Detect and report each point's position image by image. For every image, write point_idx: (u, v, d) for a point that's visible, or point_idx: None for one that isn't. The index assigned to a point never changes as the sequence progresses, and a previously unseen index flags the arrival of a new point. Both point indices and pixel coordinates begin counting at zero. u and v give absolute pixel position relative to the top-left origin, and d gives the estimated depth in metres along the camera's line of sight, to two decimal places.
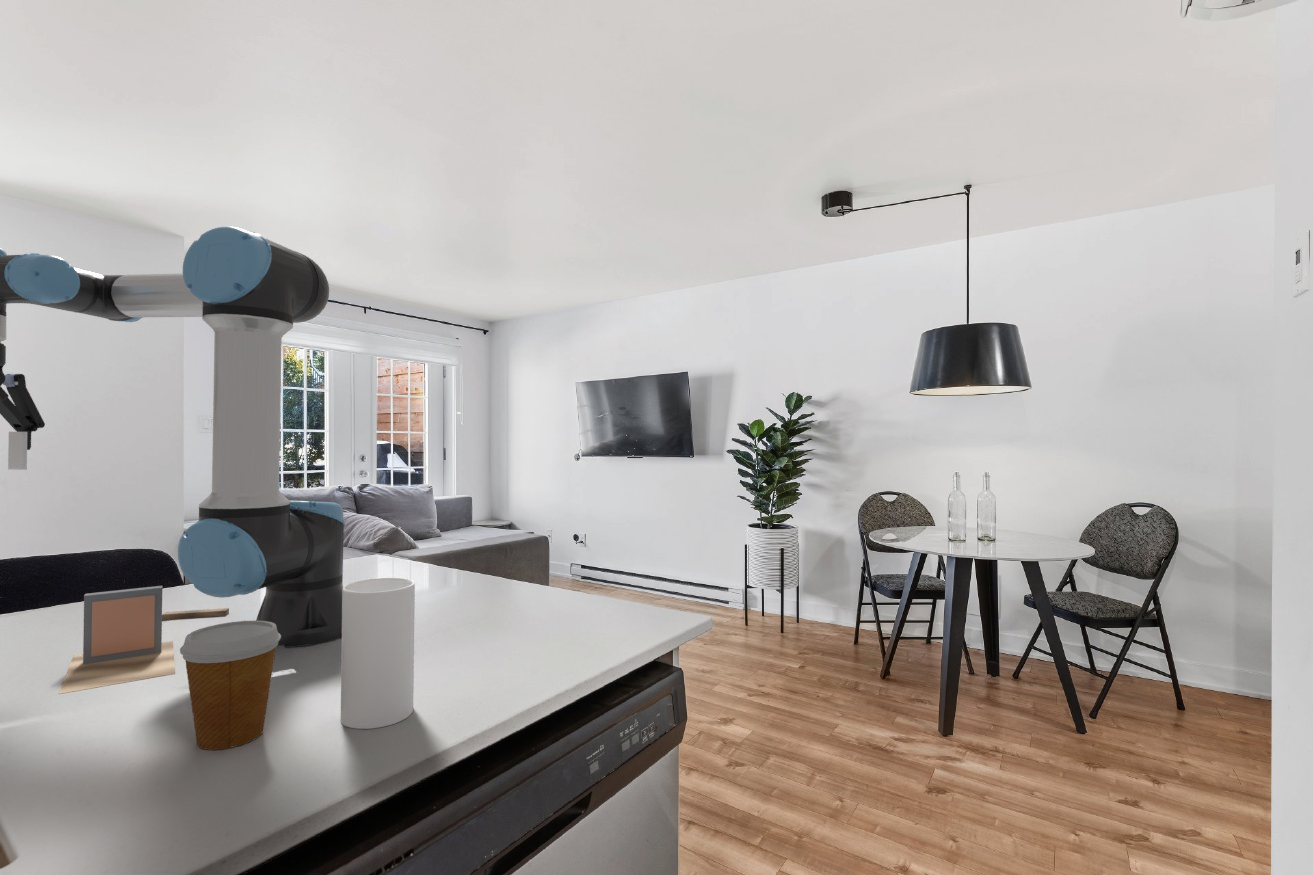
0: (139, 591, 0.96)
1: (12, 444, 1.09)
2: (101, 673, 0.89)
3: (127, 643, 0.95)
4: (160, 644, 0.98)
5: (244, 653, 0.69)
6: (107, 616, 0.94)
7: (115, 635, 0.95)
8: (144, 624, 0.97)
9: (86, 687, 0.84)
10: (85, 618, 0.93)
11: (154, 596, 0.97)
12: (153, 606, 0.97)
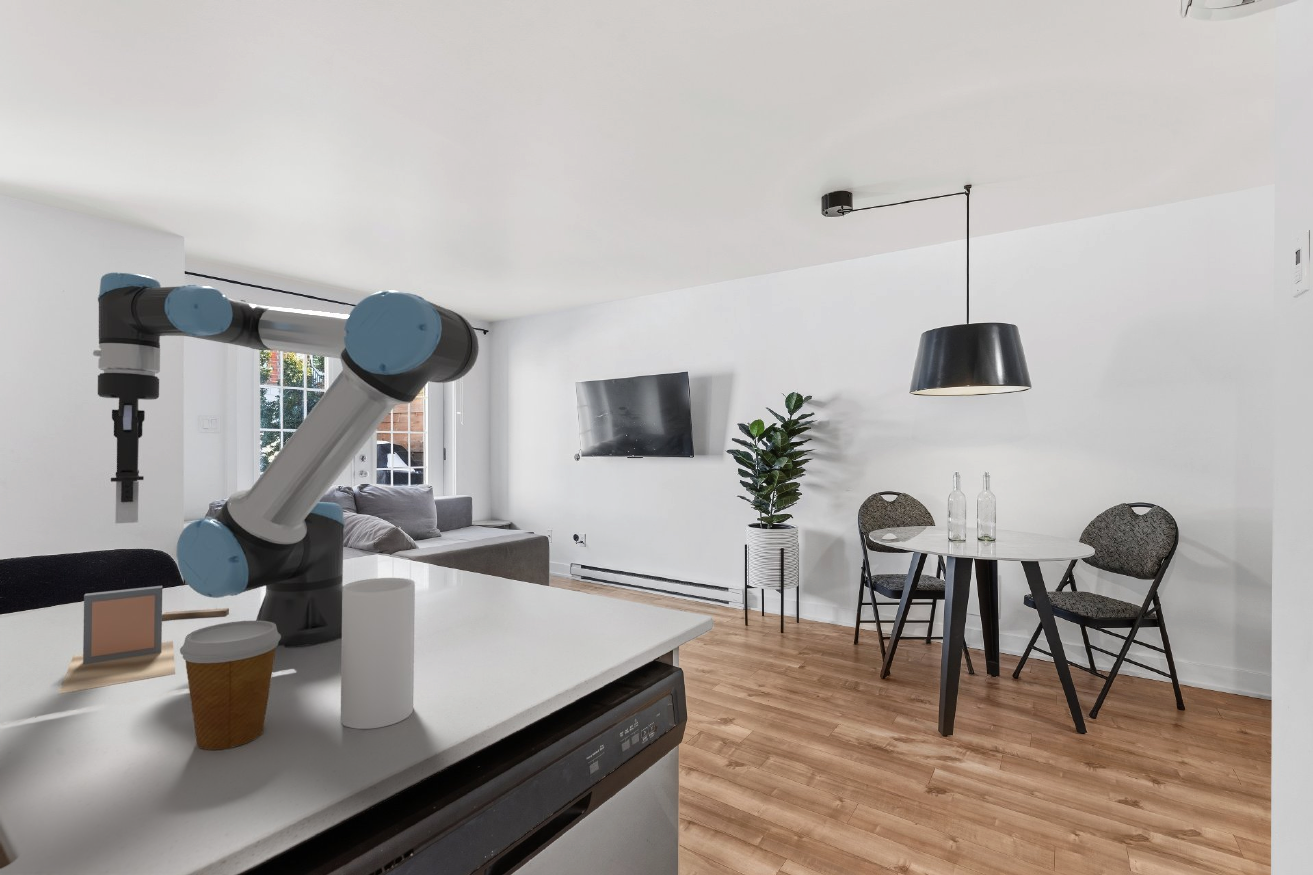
0: (139, 591, 0.96)
1: None
2: (101, 673, 0.89)
3: (127, 643, 0.95)
4: (160, 644, 0.98)
5: (244, 653, 0.69)
6: (107, 616, 0.94)
7: (115, 635, 0.95)
8: (144, 624, 0.97)
9: (86, 687, 0.84)
10: (85, 618, 0.93)
11: (154, 596, 0.97)
12: (153, 606, 0.97)
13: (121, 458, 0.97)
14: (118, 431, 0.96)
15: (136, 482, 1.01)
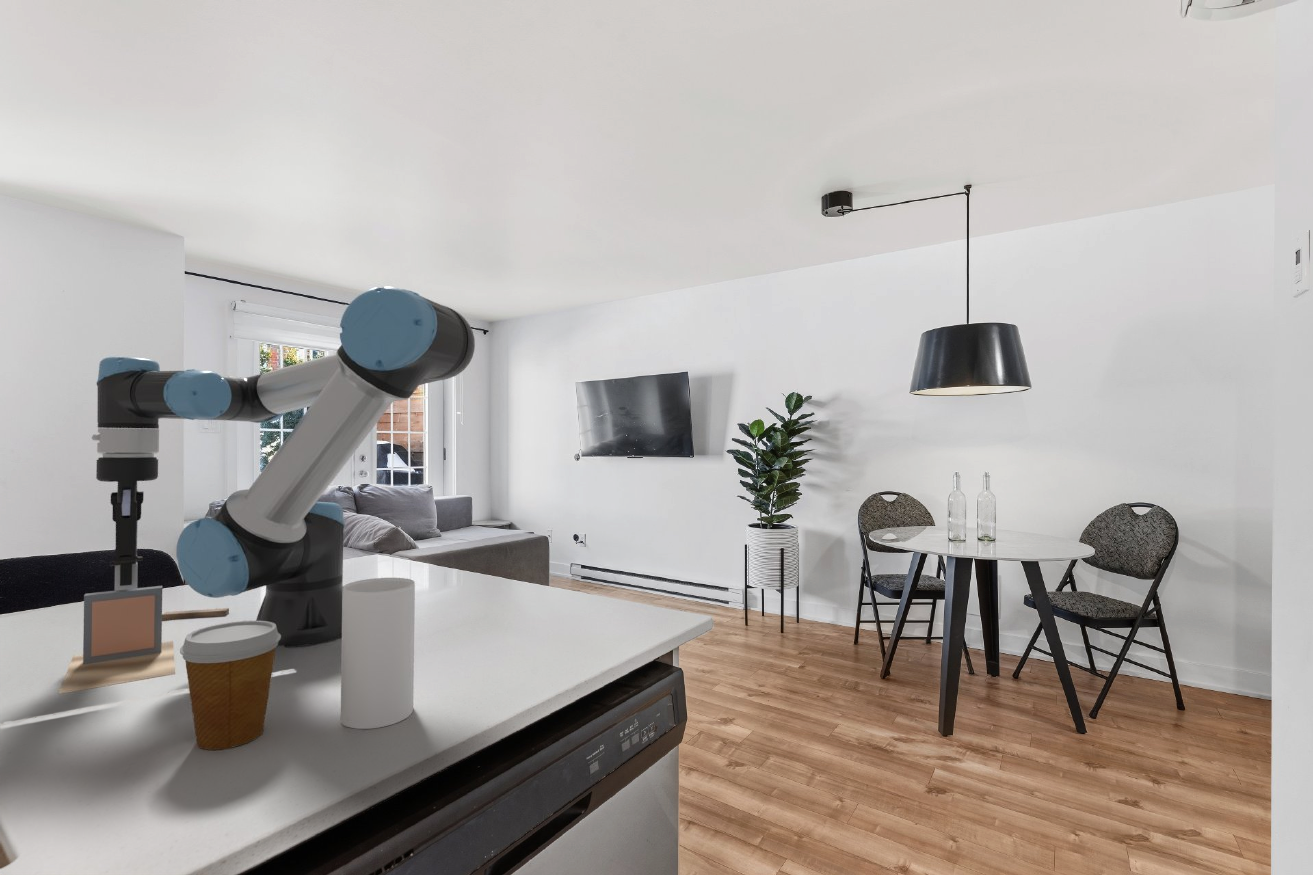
0: (139, 591, 0.96)
1: None
2: (101, 673, 0.89)
3: (127, 643, 0.95)
4: (160, 644, 0.98)
5: (244, 653, 0.69)
6: (107, 616, 0.94)
7: (115, 635, 0.95)
8: (144, 624, 0.97)
9: (86, 687, 0.84)
10: (85, 618, 0.93)
11: (154, 596, 0.97)
12: (153, 606, 0.97)
13: (120, 543, 0.97)
14: (117, 517, 0.96)
15: (135, 564, 1.01)
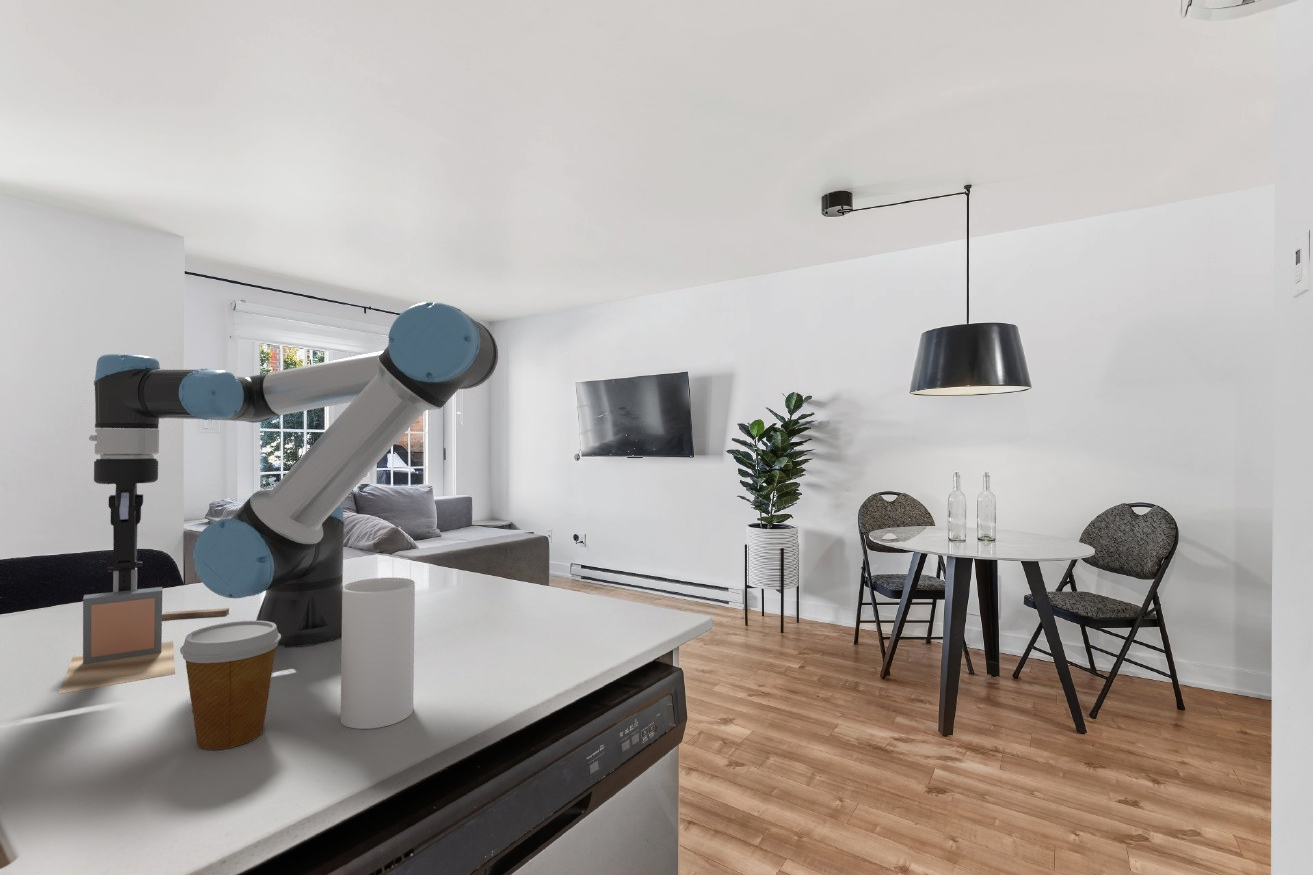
0: (139, 594, 0.95)
1: None
2: (101, 673, 0.89)
3: (127, 644, 0.95)
4: (160, 644, 0.98)
5: (244, 653, 0.69)
6: (107, 619, 0.93)
7: (115, 636, 0.94)
8: (144, 626, 0.96)
9: (86, 687, 0.84)
10: (84, 620, 0.92)
11: (154, 599, 0.96)
12: (153, 608, 0.96)
13: (118, 549, 0.93)
14: (115, 521, 0.92)
15: (134, 570, 0.97)
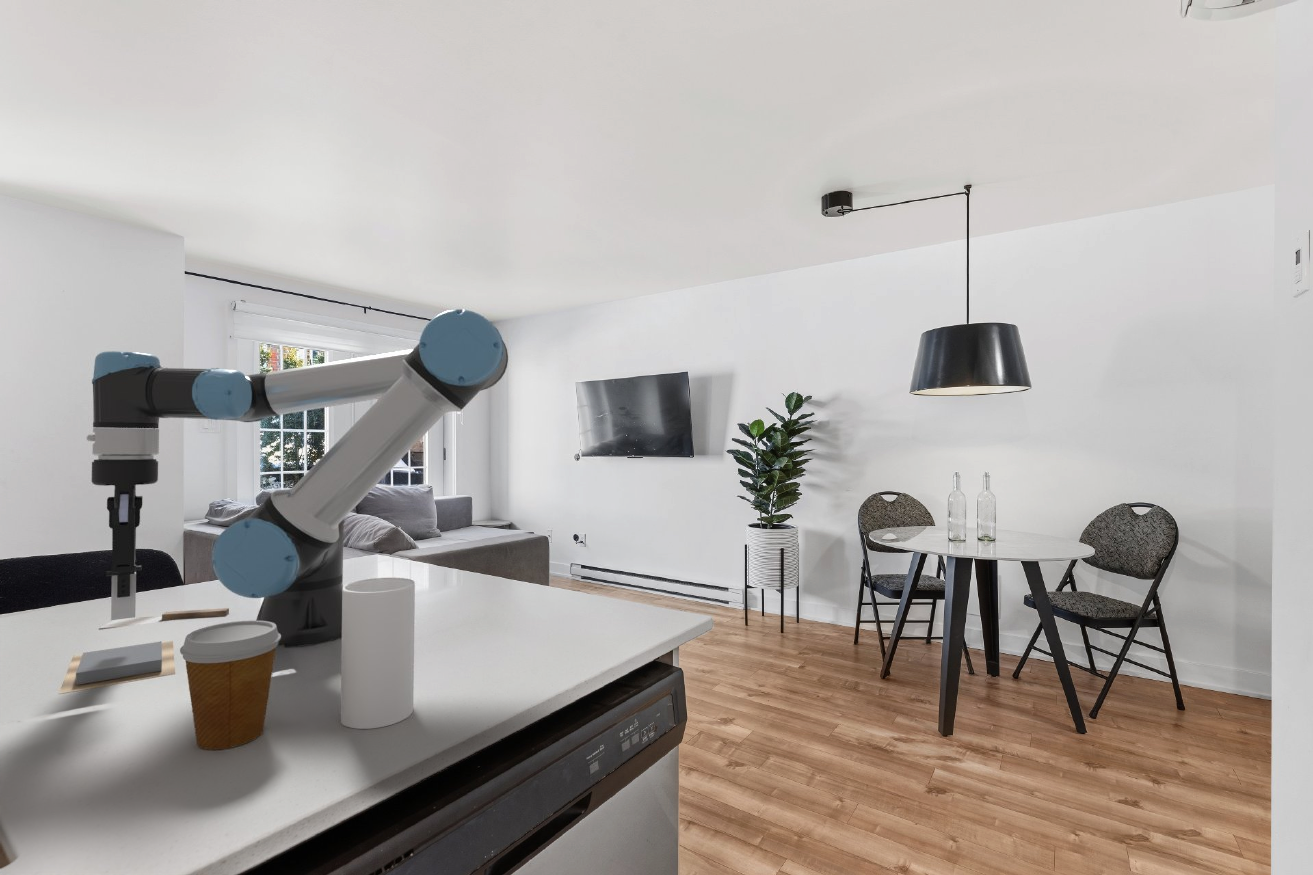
0: None
1: None
2: None
3: None
4: None
5: (244, 653, 0.69)
6: None
7: None
8: None
9: (86, 687, 0.84)
10: None
11: None
12: None
13: (117, 552, 0.90)
14: (114, 524, 0.89)
15: (133, 574, 0.94)
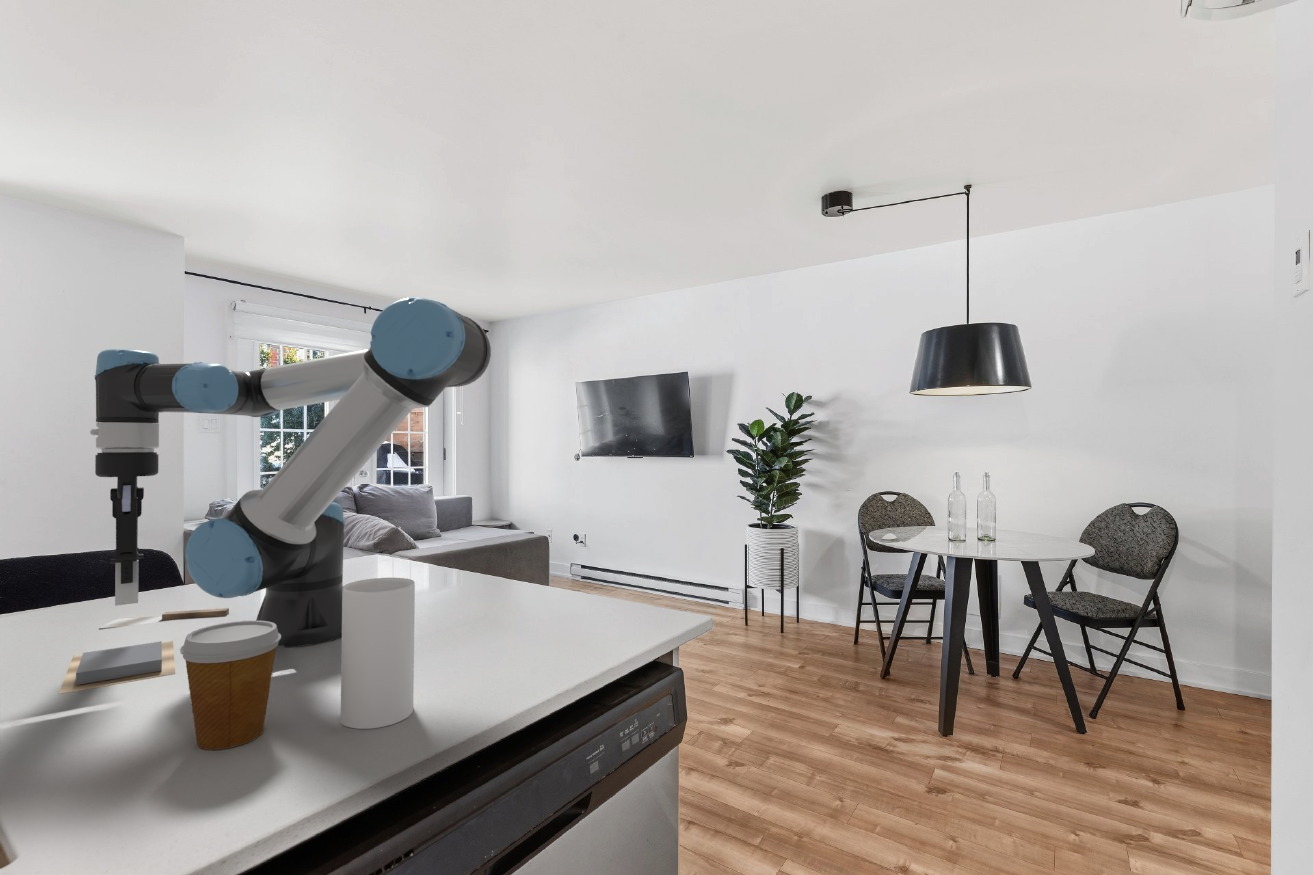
0: None
1: None
2: None
3: None
4: None
5: (244, 653, 0.69)
6: None
7: None
8: None
9: (86, 687, 0.84)
10: None
11: None
12: None
13: (120, 540, 0.94)
14: (117, 513, 0.94)
15: (136, 562, 0.98)
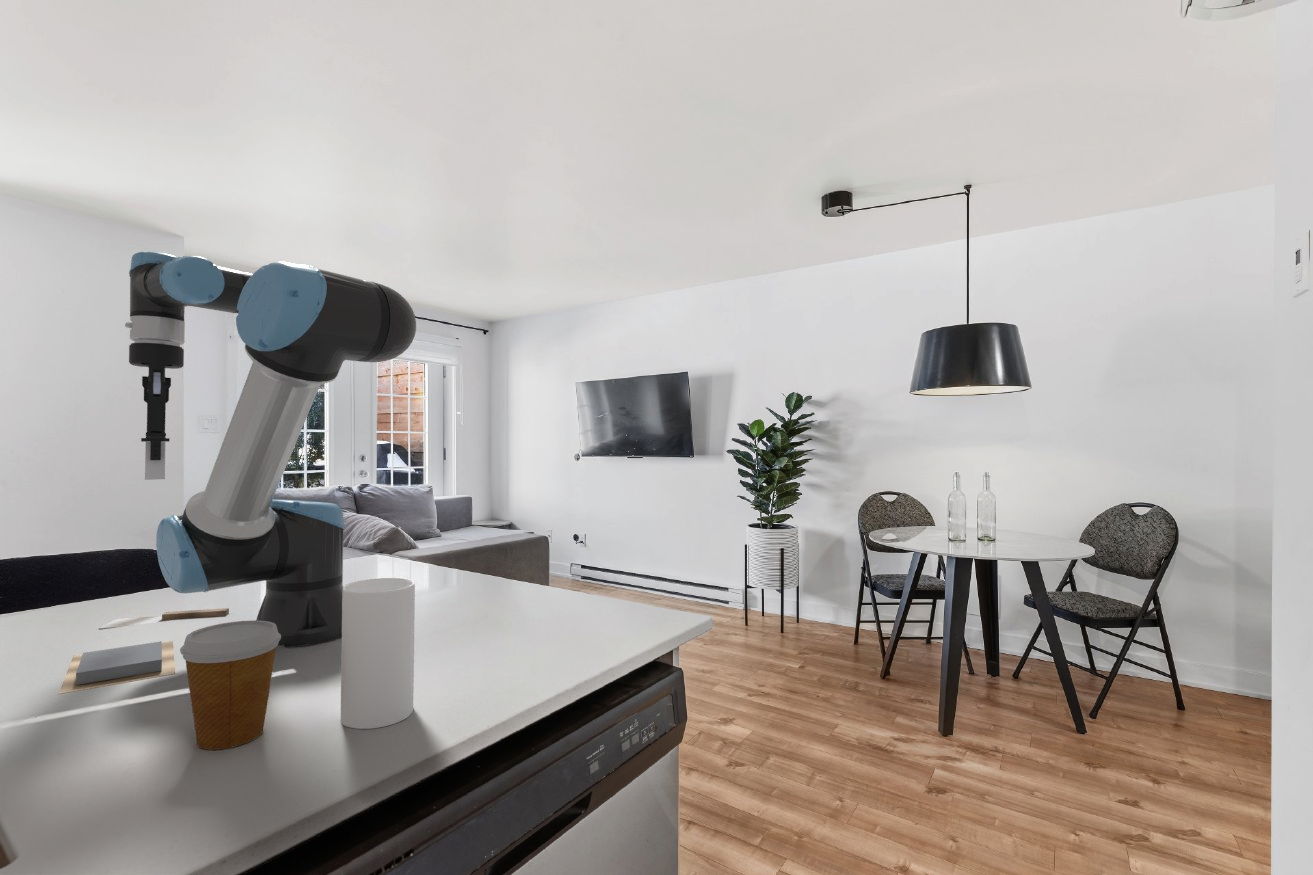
0: None
1: None
2: None
3: None
4: None
5: (244, 653, 0.69)
6: None
7: None
8: None
9: (86, 687, 0.84)
10: None
11: None
12: None
13: (151, 420, 1.07)
14: (149, 395, 1.06)
15: (163, 443, 1.11)
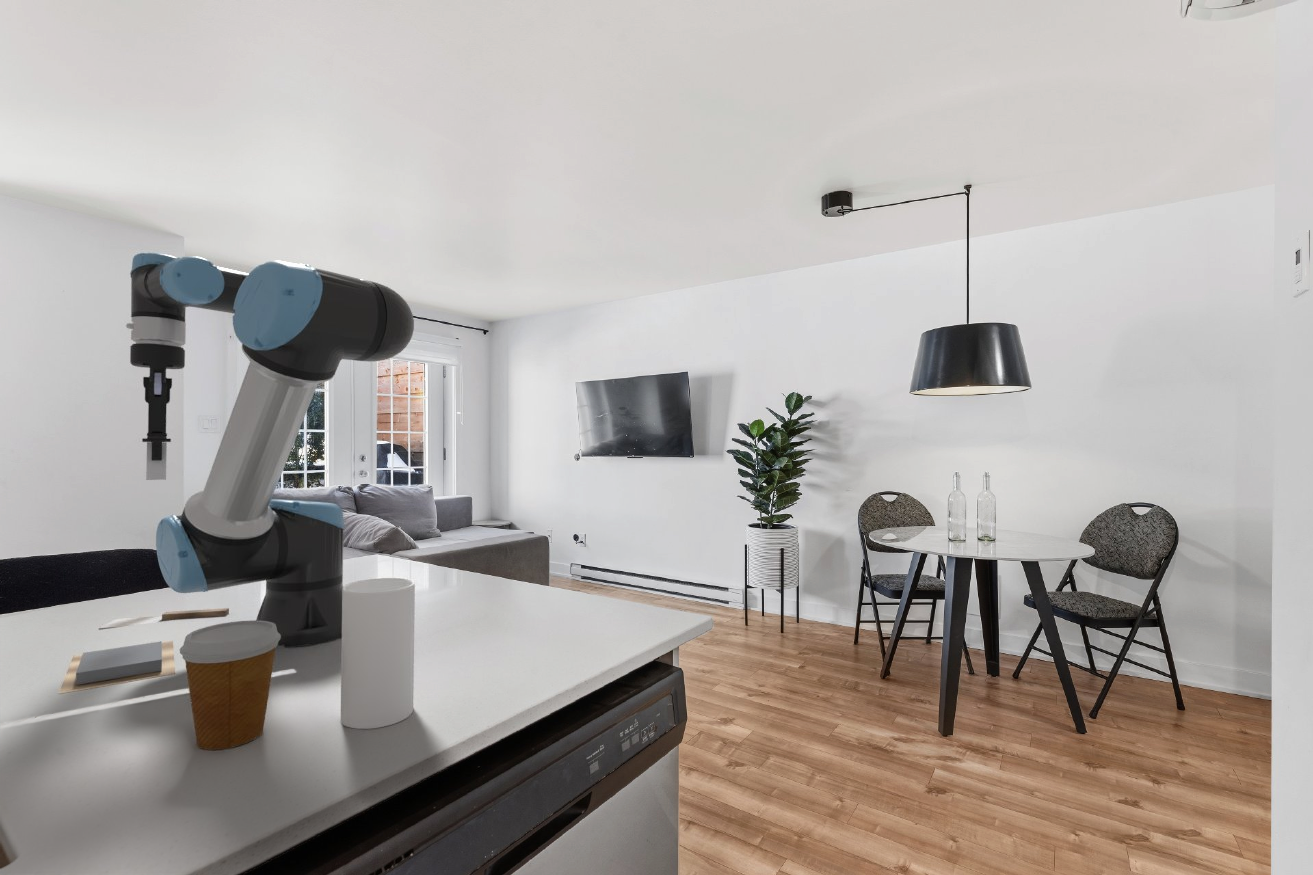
0: None
1: None
2: None
3: None
4: None
5: (244, 653, 0.69)
6: None
7: None
8: None
9: (86, 687, 0.84)
10: None
11: None
12: None
13: (152, 420, 1.07)
14: (150, 395, 1.06)
15: (164, 443, 1.11)
